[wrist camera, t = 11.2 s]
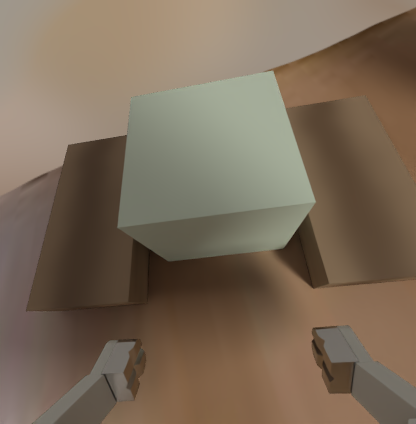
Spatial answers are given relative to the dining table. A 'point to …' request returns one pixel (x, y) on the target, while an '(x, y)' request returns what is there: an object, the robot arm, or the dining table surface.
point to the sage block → (213, 170)
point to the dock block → (308, 230)
